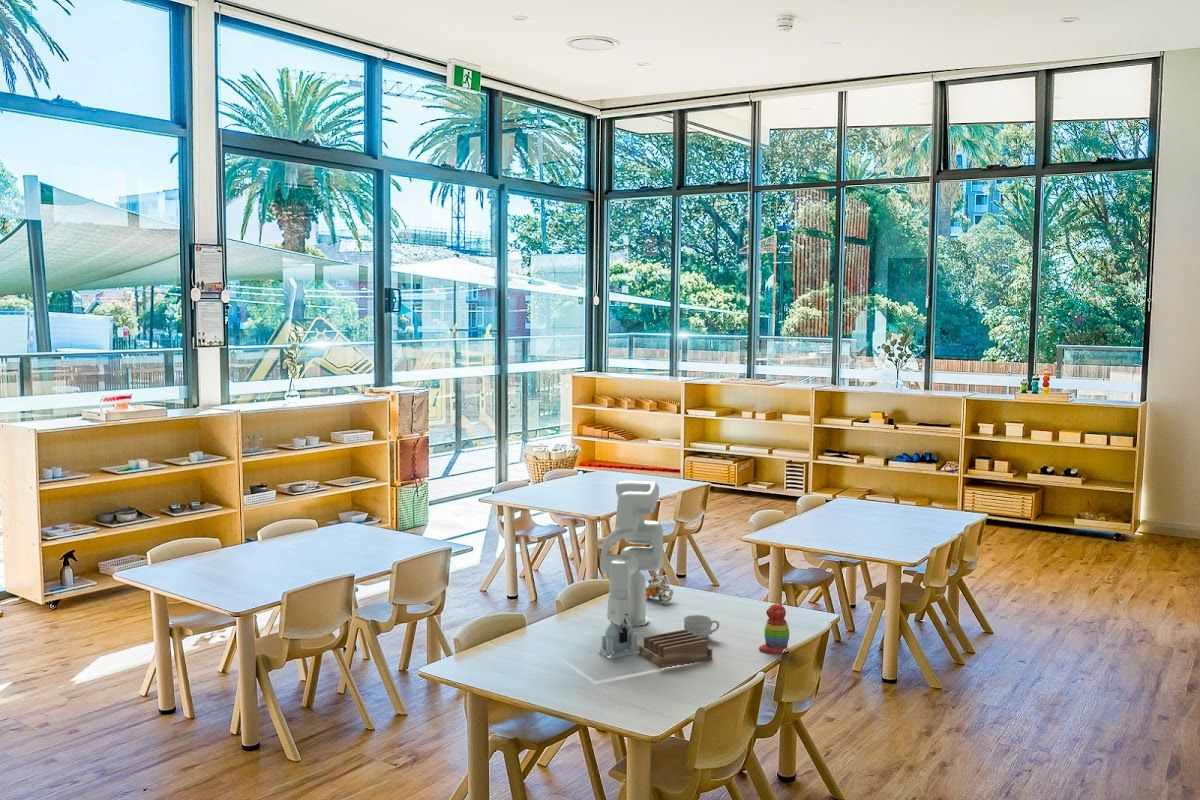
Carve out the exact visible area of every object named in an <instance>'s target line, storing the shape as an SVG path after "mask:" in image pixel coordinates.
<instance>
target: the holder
mask: <svg viewBox="0 0 1200 800" xmlns="http://www.w3.org/2000/svg"><path fill="white" fill-rule="evenodd" d="M639 646H641V645H640V644H639V643H638V632H634V633H631V634H630V646H629V647H628V648H627V649H626V650H624V651H622V652H615V651H613V637H609V638H606V643H605V634H601V646H600V647H598V650H599V652H600V653H601V654H600V653H599V654H600V655H602V654H603V655H604V656H603V655H602V656H603V657H605V656H610V655H611V657H614V658H613V659H615V658H619V657H620V658H621V657H624V656H629V655H635V654H639Z"/></svg>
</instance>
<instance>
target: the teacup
mask: <svg viewBox="0 0 1200 800" xmlns="http://www.w3.org/2000/svg"><path fill="white" fill-rule="evenodd" d="M683 620H684V621H683V623H684V625H683V628H684V629H683V630H685V629H687V630H688V632H693V635H695V634H697V635H698V637H703V640H706V639H707V638H708V637H709V636H710V635H712V634H713V633H715V632H716V631H718V630H719V628H720V621H718V620H716V619H713V620H712V618H711V617H710V616H707V615H704V614H703V615H702V614H701V615H700V614H699V615H698V614H694V615H693V614H691V615H687V616H685V617H684V618H683ZM713 623H714V624H716V627H715V628H714V629H712V626H713Z"/></svg>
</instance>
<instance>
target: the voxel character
mask: <svg viewBox="0 0 1200 800" xmlns="http://www.w3.org/2000/svg"><path fill="white" fill-rule="evenodd" d="M665 577H666V576H665V575H663V574H662V573H660V572H658V573H657V574H656V575H652V576H650V577H649V578H648V580H646V581H647V582H648V586H646V599H649V598H650V597H652V598H653V599H654V598H658V599H659V600H662V599H663V600H662V601H660V603H659V604H660V605H664V604H665V603H668V602H670V601H671V600H673V595H674V589H673V588H670V586H669V584H668V583H666V581H665ZM666 592H668V595H667V594H666Z"/></svg>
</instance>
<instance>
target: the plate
mask: <svg viewBox="0 0 1200 800" xmlns="http://www.w3.org/2000/svg"><path fill="white" fill-rule="evenodd" d="M623 624H625V623H624V622H623ZM630 625H631V624H630ZM622 627H623V628H624V627H625V626H622ZM619 633H620V626H618V625H616V624H614V623H613V622H612V623H611V622H610V624H609V625H608V627H607V628H606V630H605V633H604V635H605V643H606V638H609V637H613V651H615V652H622V651H624V650H626V649H627V648H628V647H629V646H630V634H631V633H635V629H634V626H632V625H631V627H630V628H629V630H628V632H627V642H625V643H619Z"/></svg>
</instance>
